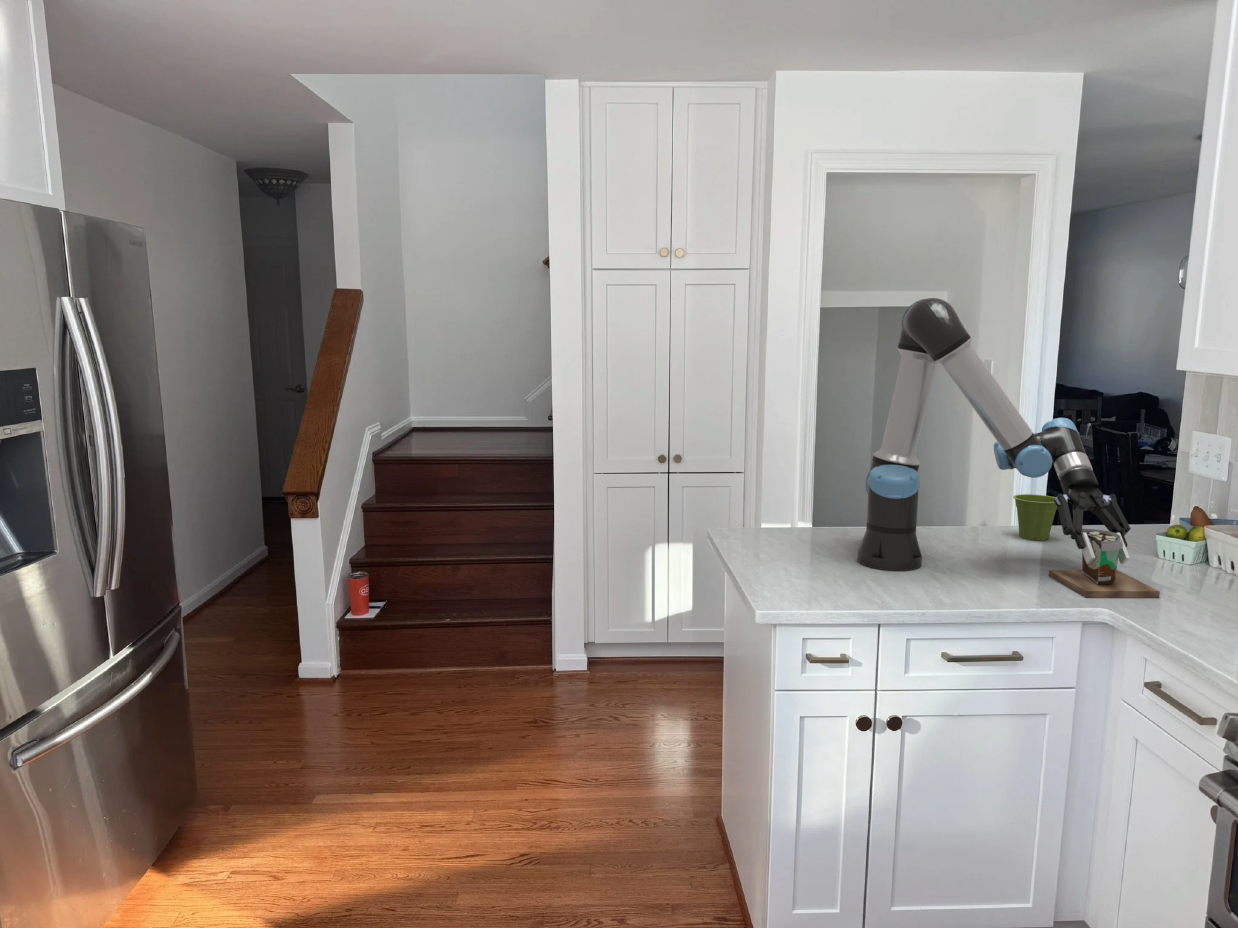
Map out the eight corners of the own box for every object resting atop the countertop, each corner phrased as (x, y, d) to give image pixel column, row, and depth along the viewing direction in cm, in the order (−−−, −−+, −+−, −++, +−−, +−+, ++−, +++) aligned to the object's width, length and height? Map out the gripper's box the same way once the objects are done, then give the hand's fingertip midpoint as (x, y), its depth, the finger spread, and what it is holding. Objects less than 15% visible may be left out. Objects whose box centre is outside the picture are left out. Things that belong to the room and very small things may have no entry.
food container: (1130, 586, 187) (1133, 541, 185) (1100, 586, 188) (1102, 542, 186) (1108, 569, 199) (1110, 527, 197) (1079, 569, 200) (1081, 528, 198)
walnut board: (1085, 597, 186) (1086, 590, 186) (1048, 575, 202) (1049, 569, 201) (1159, 597, 186) (1159, 591, 186) (1116, 576, 202) (1116, 569, 202)
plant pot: (1059, 536, 239) (1062, 496, 237) (1055, 545, 229) (1059, 504, 227) (1013, 530, 245) (1016, 491, 243) (1007, 539, 235) (1010, 499, 233)
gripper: (1110, 484, 208) (1143, 569, 194) (1028, 484, 208) (1056, 568, 194) (1125, 466, 202) (1161, 552, 188) (1041, 466, 201) (1071, 552, 188)
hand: (1108, 560), depth 191 cm, fingers open, 7 cm apart
